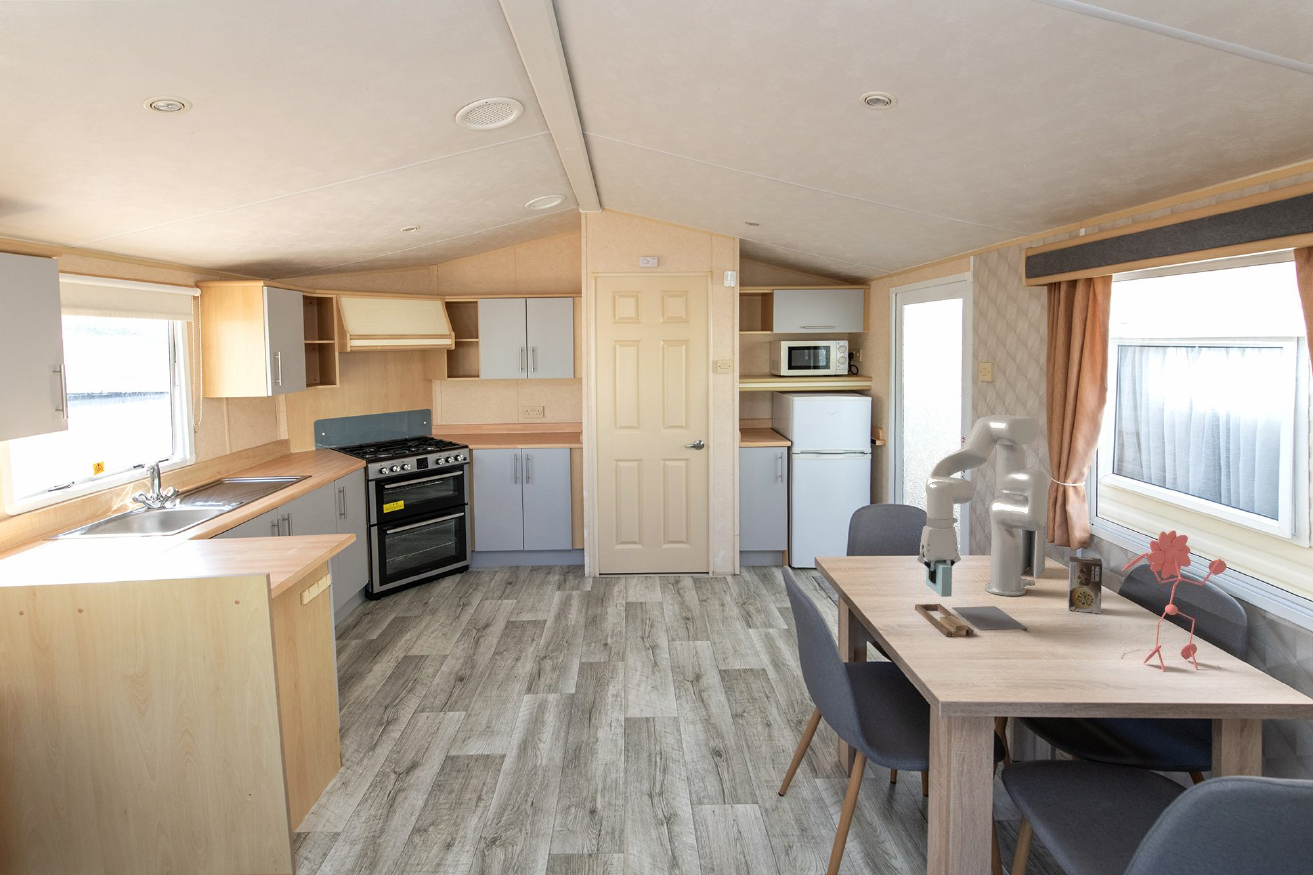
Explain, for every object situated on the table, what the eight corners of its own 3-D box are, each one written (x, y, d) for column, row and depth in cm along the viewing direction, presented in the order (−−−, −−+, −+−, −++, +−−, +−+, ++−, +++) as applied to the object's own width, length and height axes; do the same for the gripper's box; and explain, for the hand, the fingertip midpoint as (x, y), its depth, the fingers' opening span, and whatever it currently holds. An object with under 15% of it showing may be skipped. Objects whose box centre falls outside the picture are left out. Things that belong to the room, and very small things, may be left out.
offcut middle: (951, 625, 242) (952, 620, 242) (965, 635, 234) (965, 630, 234) (939, 626, 241) (939, 621, 241) (952, 636, 233) (952, 631, 233)
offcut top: (951, 620, 242) (952, 615, 242) (967, 629, 234) (968, 624, 234) (939, 622, 241) (939, 617, 241) (955, 631, 233) (955, 626, 233)
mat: (995, 609, 259) (995, 606, 259) (1027, 631, 239) (1027, 628, 239) (951, 610, 258) (951, 607, 258) (980, 632, 238) (980, 629, 238)
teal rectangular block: (935, 584, 255) (936, 555, 254) (951, 596, 243) (952, 566, 242) (925, 584, 255) (926, 556, 254) (941, 596, 243) (942, 567, 242)
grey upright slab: (1035, 578, 291) (1039, 495, 288) (1019, 576, 294) (1022, 493, 291) (1044, 569, 302) (1048, 489, 299) (1028, 567, 306) (1032, 487, 302)
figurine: (1230, 668, 210) (1237, 534, 207) (1136, 674, 208) (1141, 538, 204) (1185, 648, 226) (1191, 522, 222) (1097, 653, 223) (1101, 526, 219)
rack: (939, 611, 257) (939, 603, 257) (973, 638, 234) (973, 630, 233) (915, 612, 257) (915, 604, 257) (946, 639, 233) (946, 631, 233)
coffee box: (1099, 608, 258) (1102, 558, 257) (1100, 614, 253) (1103, 563, 251) (1067, 604, 262) (1069, 555, 260) (1067, 610, 256) (1070, 560, 255)
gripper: (961, 518, 250) (959, 577, 253) (908, 520, 250) (907, 579, 252) (971, 524, 243) (970, 584, 245) (917, 526, 242) (916, 587, 244)
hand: (938, 581), depth 249 cm, fingers closed on teal rectangular block, 3 cm apart
